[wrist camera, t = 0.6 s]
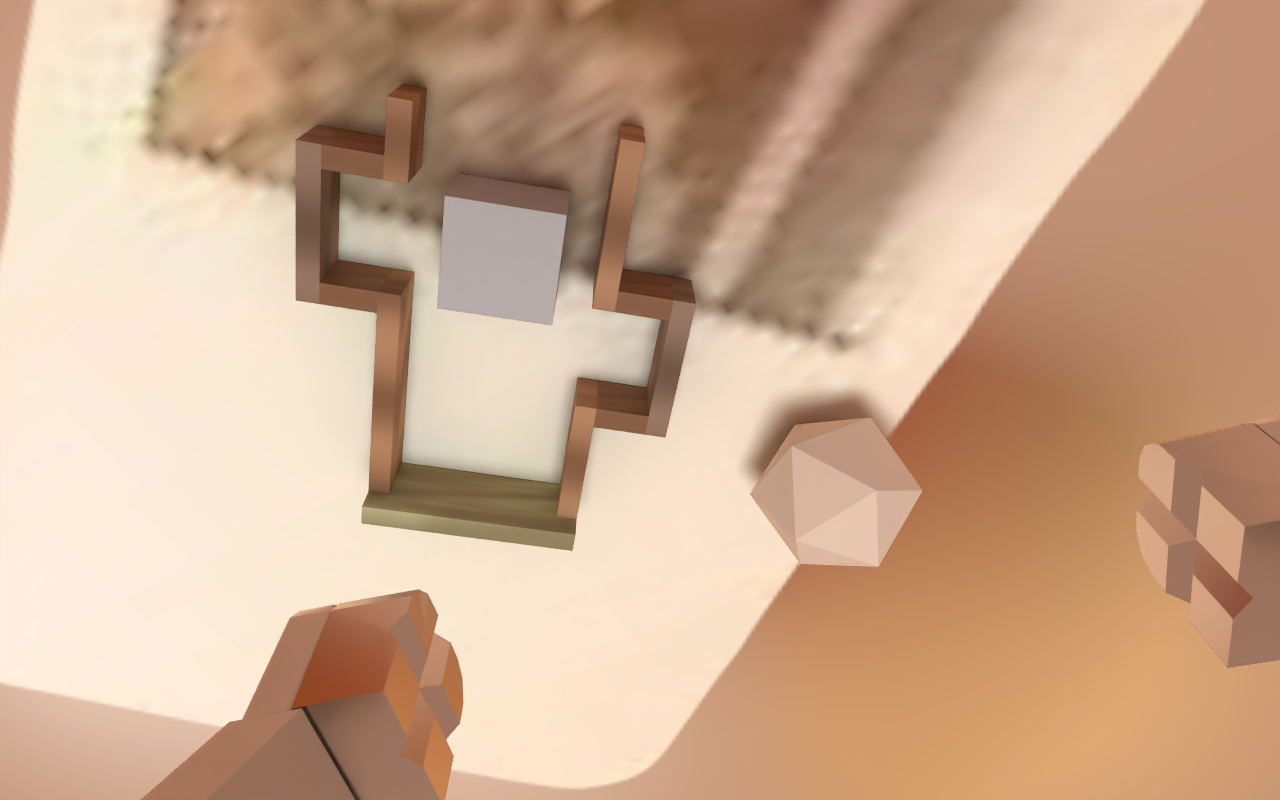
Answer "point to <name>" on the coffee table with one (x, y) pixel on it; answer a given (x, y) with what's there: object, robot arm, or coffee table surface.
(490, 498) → the box
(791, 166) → the coffee table surface
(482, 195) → the block
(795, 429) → the die
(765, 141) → the coffee table surface
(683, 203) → the coffee table surface
